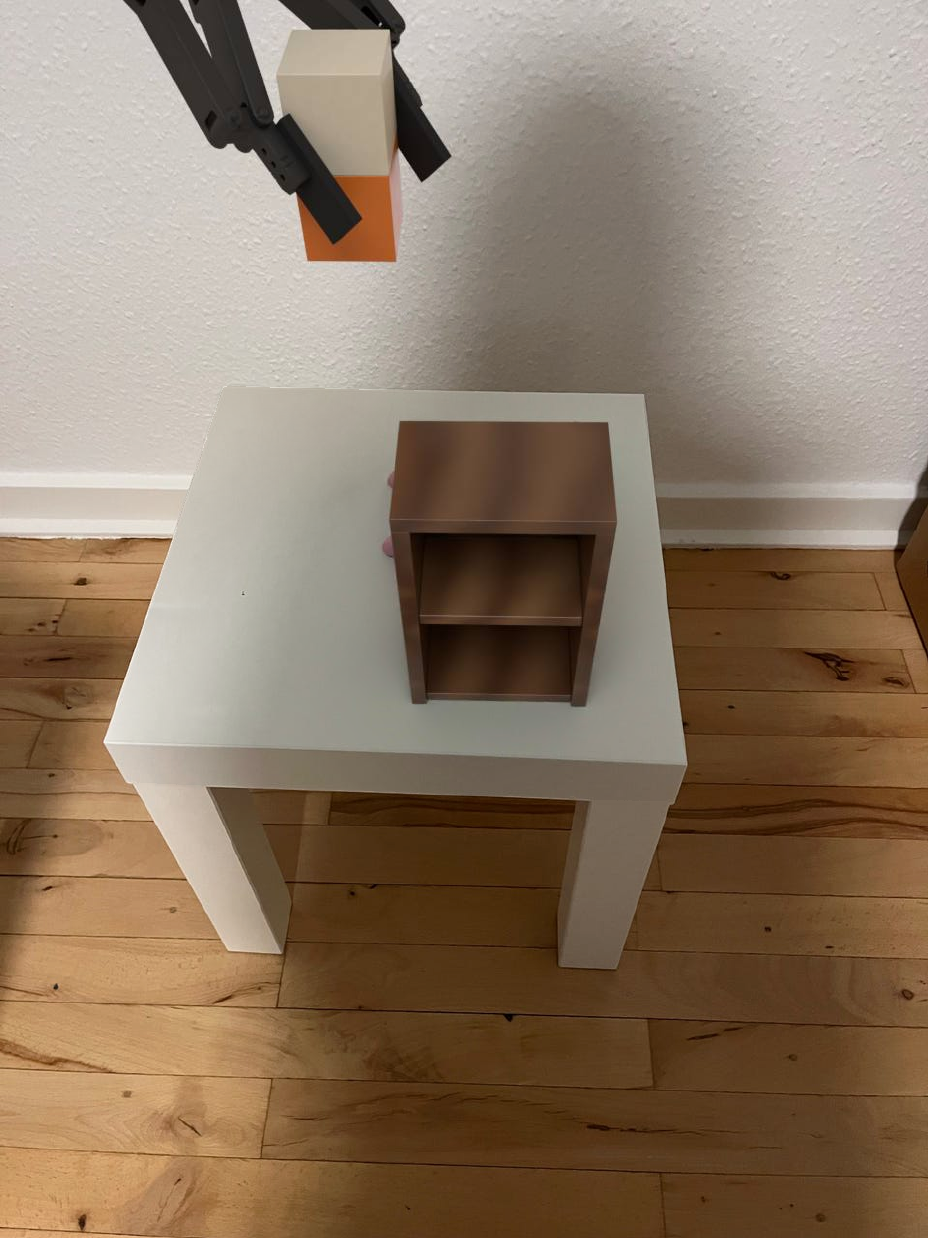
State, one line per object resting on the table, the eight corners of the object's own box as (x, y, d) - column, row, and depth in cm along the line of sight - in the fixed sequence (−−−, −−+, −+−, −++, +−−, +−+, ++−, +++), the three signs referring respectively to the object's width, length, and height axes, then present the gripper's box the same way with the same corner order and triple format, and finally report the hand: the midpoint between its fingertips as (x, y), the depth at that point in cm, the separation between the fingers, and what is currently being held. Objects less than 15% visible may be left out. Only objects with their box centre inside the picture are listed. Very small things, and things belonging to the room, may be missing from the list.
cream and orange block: (307, 261, 58) (275, 74, 49) (319, 212, 61) (291, 29, 52) (396, 262, 58) (380, 74, 49) (403, 213, 61) (389, 29, 52)
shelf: (411, 704, 74) (388, 519, 57) (418, 614, 80) (399, 420, 62) (585, 707, 74) (617, 521, 56) (580, 616, 79) (608, 421, 62)
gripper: (-30, -204, 40) (303, 254, 47) (292, -294, 50) (528, 97, 57) (-47, -81, 46) (250, 308, 53) (242, -183, 56) (460, 158, 63)
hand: (393, 199), depth 55 cm, fingers closed on cream and orange block, 8 cm apart
